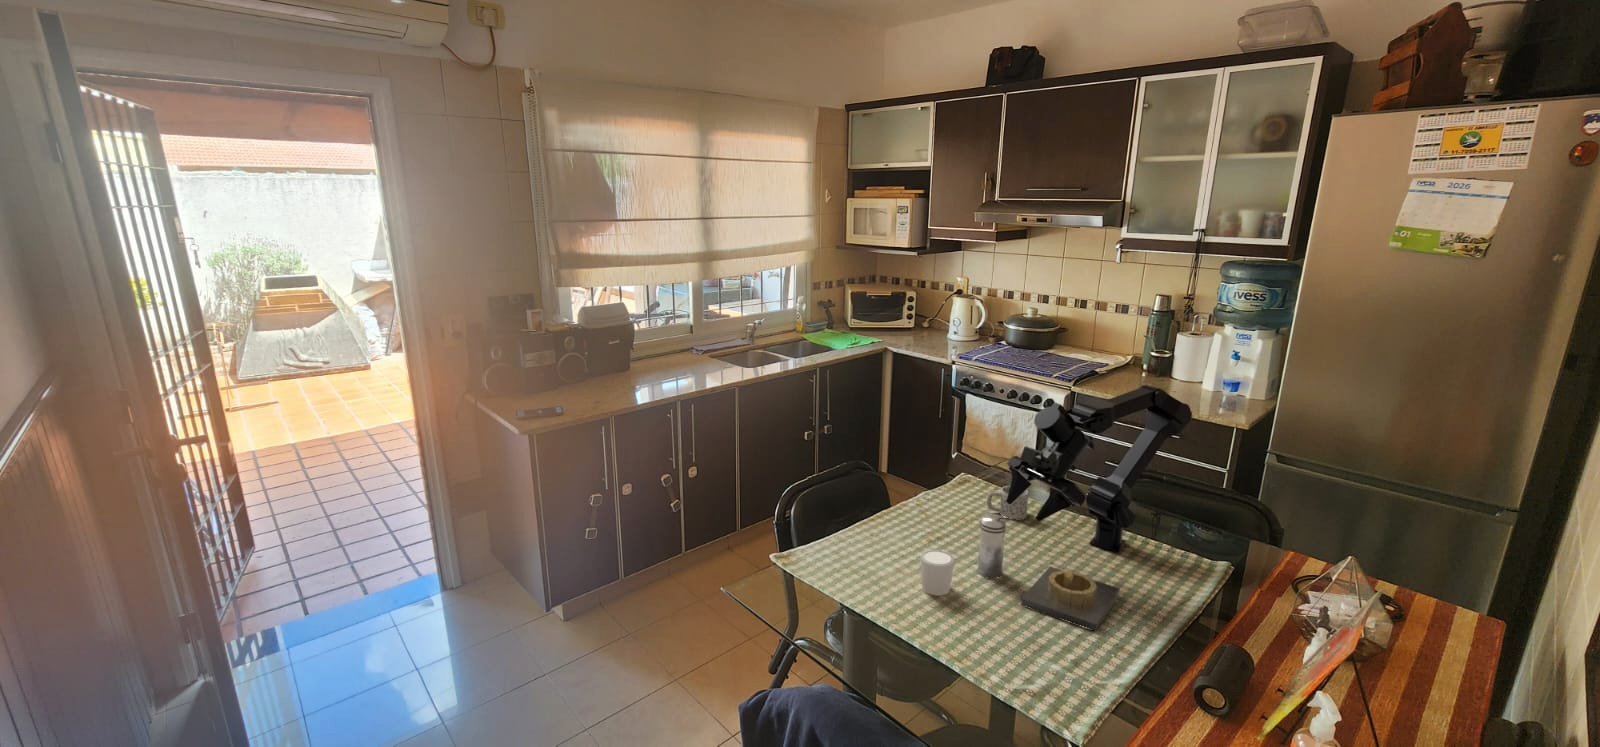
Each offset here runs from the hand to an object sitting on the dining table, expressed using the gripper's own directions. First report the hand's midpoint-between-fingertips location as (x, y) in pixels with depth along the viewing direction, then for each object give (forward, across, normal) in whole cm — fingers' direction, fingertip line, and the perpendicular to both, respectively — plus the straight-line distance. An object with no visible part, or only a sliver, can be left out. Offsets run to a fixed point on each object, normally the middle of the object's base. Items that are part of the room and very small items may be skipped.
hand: (1022, 511), depth 144 cm
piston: (+15, 0, +3) cm, 15 cm away
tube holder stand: (+9, +15, +9) cm, 20 cm away
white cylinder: (+24, +1, -8) cm, 26 cm away
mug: (0, -22, +20) cm, 30 cm away
